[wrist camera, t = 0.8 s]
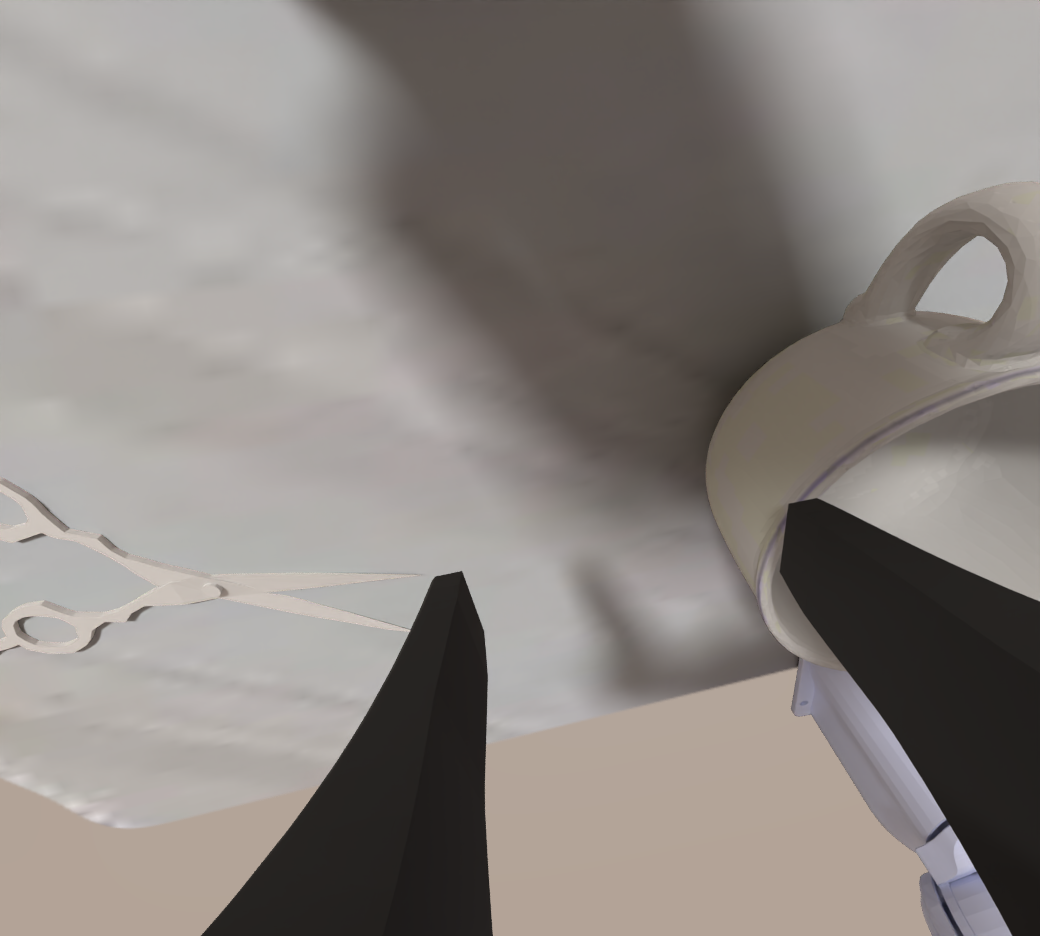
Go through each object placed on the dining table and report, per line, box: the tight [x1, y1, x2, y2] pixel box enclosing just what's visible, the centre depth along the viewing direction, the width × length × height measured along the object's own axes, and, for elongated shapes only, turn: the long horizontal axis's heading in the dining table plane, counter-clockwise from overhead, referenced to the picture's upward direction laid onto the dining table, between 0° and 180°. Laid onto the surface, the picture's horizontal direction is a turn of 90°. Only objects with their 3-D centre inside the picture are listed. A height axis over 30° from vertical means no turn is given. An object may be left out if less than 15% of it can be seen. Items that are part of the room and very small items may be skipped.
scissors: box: [0, 477, 419, 654], centre depth 21 cm, size 11×1×20 cm
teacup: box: [706, 182, 1040, 671], centre depth 15 cm, size 14×11×8 cm
